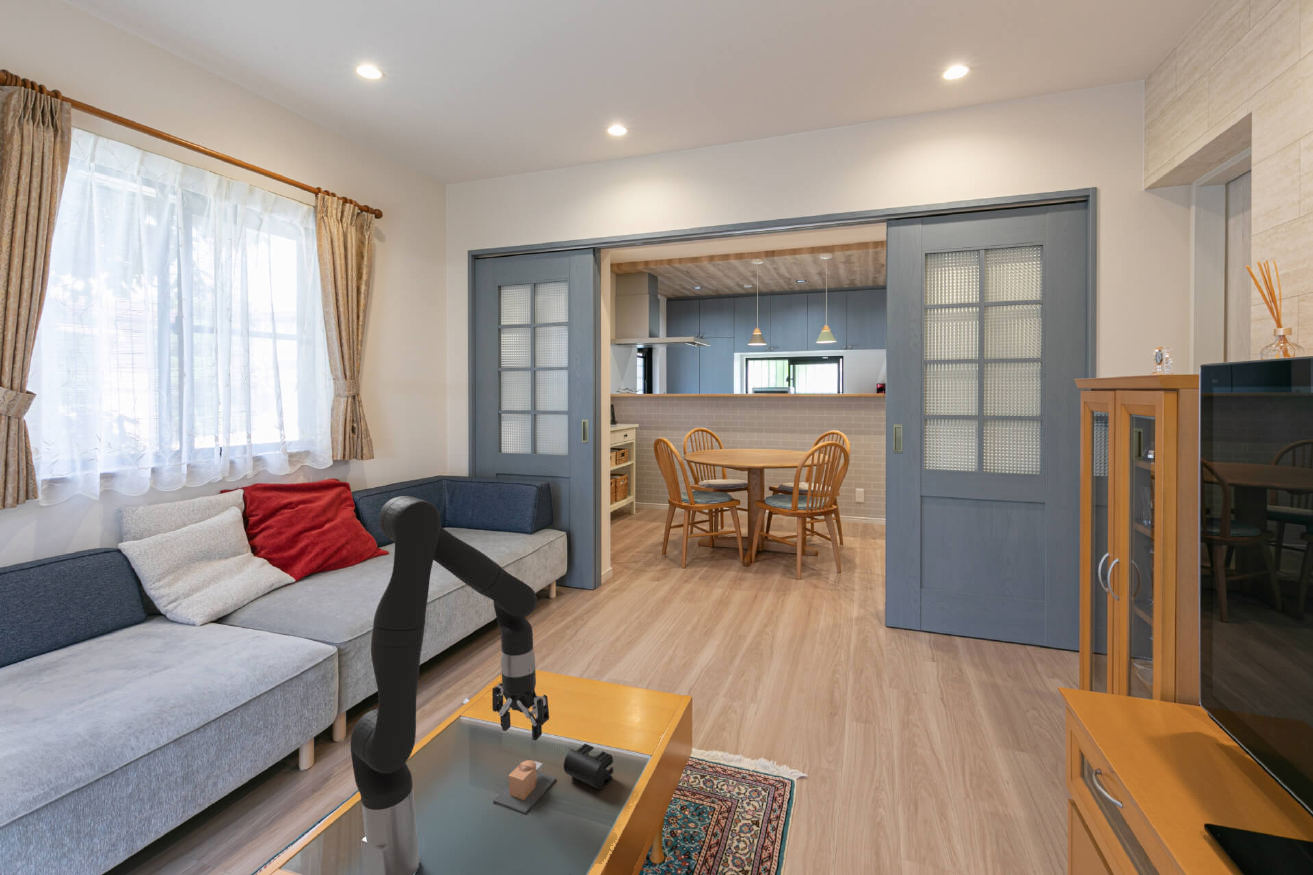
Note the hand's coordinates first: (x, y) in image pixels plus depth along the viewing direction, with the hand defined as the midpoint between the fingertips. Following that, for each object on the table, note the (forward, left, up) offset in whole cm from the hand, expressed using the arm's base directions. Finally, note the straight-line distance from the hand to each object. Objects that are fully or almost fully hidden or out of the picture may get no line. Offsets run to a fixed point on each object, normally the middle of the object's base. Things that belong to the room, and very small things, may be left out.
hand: (521, 733), depth 143 cm
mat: (0, 0, -15) cm, 15 cm away
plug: (+1, 0, -14) cm, 14 cm away
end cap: (+9, -12, -15) cm, 21 cm away
